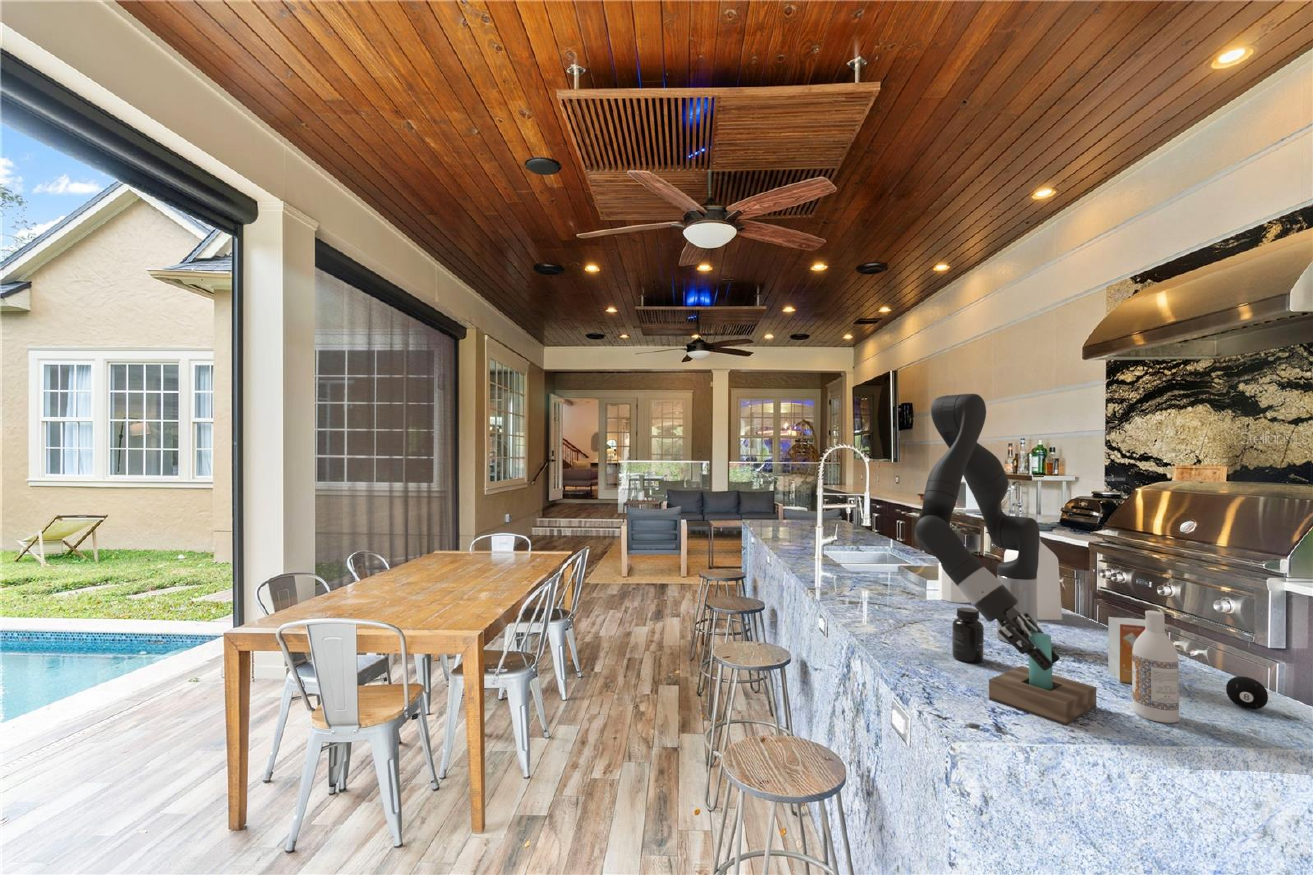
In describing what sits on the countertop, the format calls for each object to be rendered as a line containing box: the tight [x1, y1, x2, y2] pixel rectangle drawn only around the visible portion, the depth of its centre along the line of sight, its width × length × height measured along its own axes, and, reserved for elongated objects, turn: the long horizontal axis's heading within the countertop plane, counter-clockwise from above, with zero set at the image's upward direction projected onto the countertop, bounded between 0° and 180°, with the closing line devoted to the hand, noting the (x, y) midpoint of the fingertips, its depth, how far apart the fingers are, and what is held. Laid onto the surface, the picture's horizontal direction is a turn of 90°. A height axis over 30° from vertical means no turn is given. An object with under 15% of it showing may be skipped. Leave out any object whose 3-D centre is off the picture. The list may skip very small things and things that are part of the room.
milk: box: [1003, 539, 1063, 621], centre depth 187 cm, size 12×12×26 cm
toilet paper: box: [938, 562, 971, 604], centre depth 205 cm, size 10×10×12 cm
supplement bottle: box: [951, 607, 985, 664], centre depth 147 cm, size 7×7×12 cm
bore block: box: [988, 665, 1097, 726], centre depth 122 cm, size 14×14×4 cm
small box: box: [1107, 616, 1145, 684], centre depth 134 cm, size 8×6×13 cm
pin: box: [1027, 632, 1053, 691], centre depth 122 cm, size 4×4×13 cm
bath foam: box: [1131, 610, 1180, 724], centre depth 116 cm, size 7×7×20 cm
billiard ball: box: [1225, 676, 1269, 710], centre depth 120 cm, size 6×6×6 cm
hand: (1052, 664), depth 120 cm, fingers open, 4 cm apart
